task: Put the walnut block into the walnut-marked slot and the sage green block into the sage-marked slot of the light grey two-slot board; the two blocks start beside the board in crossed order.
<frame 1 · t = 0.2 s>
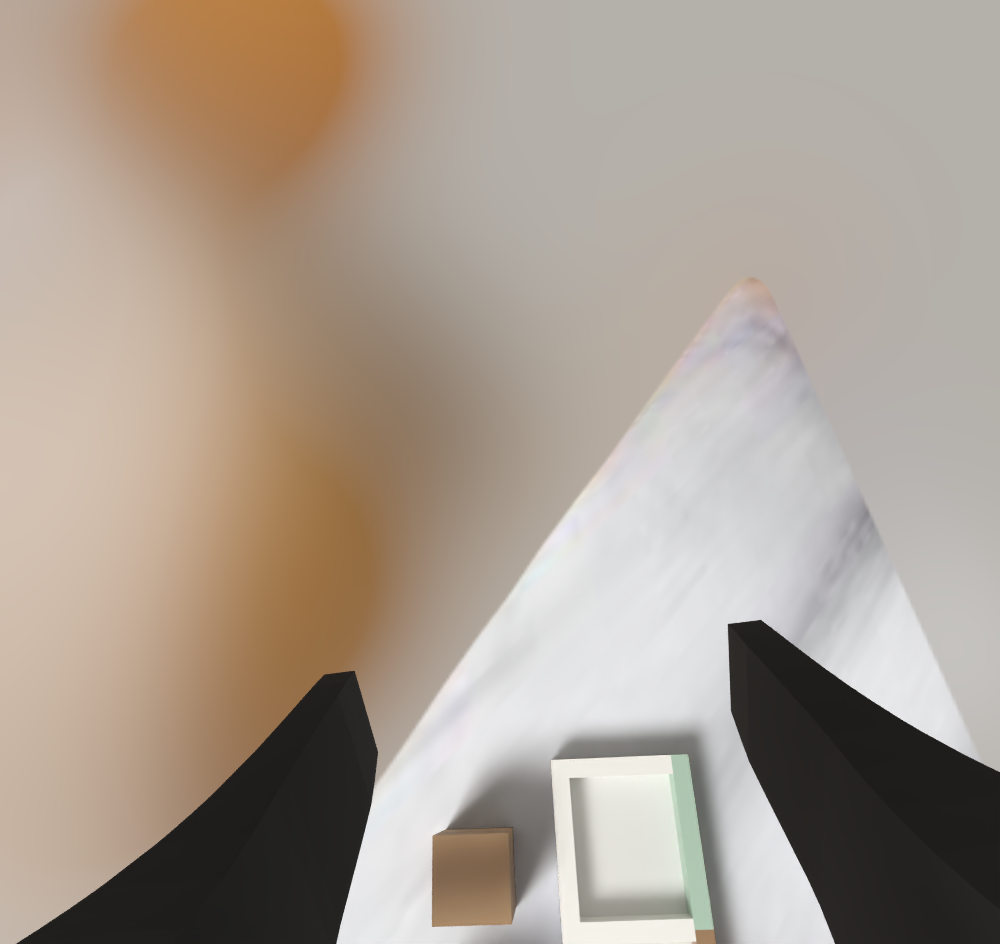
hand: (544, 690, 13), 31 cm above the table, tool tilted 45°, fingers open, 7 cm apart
slot board: (633, 924, 36), on the table
walnut block: (480, 867, 38), on the table
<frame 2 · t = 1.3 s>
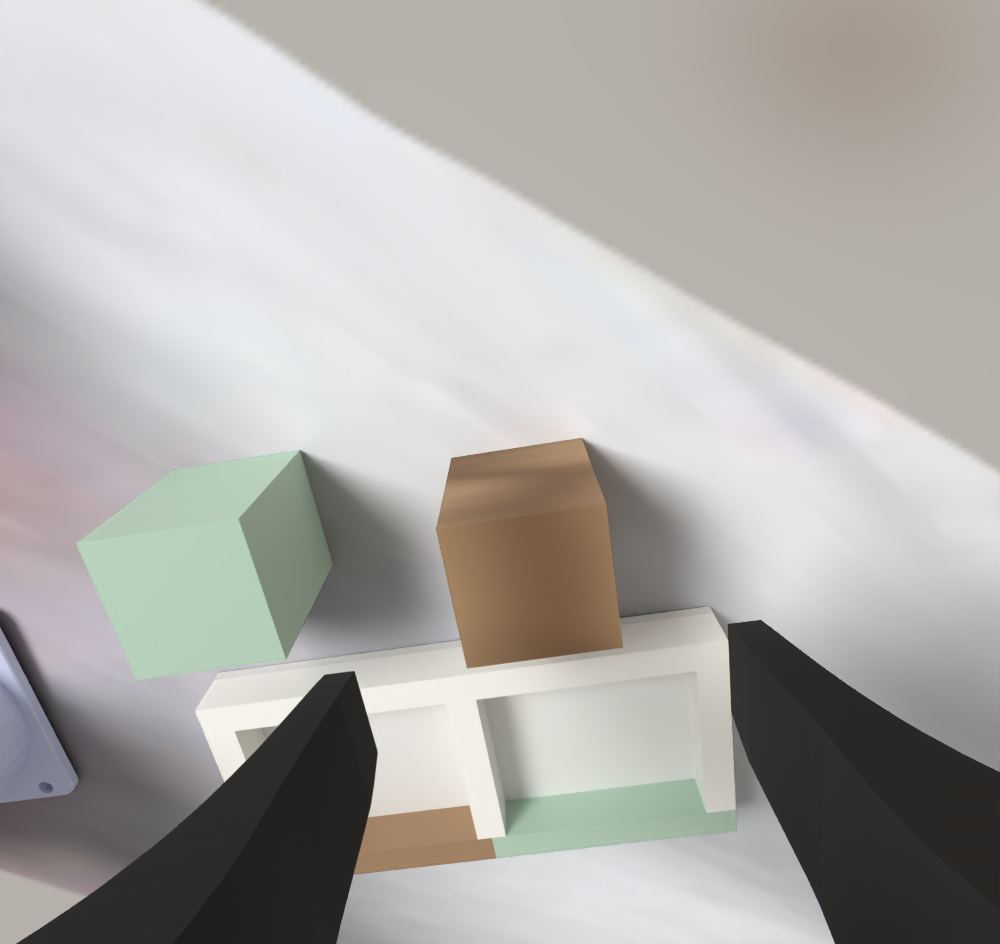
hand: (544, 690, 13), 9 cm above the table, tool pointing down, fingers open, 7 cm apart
slot board: (478, 731, 24), on the table
walnut block: (526, 506, 21), on the table
sage block: (256, 517, 21), on the table
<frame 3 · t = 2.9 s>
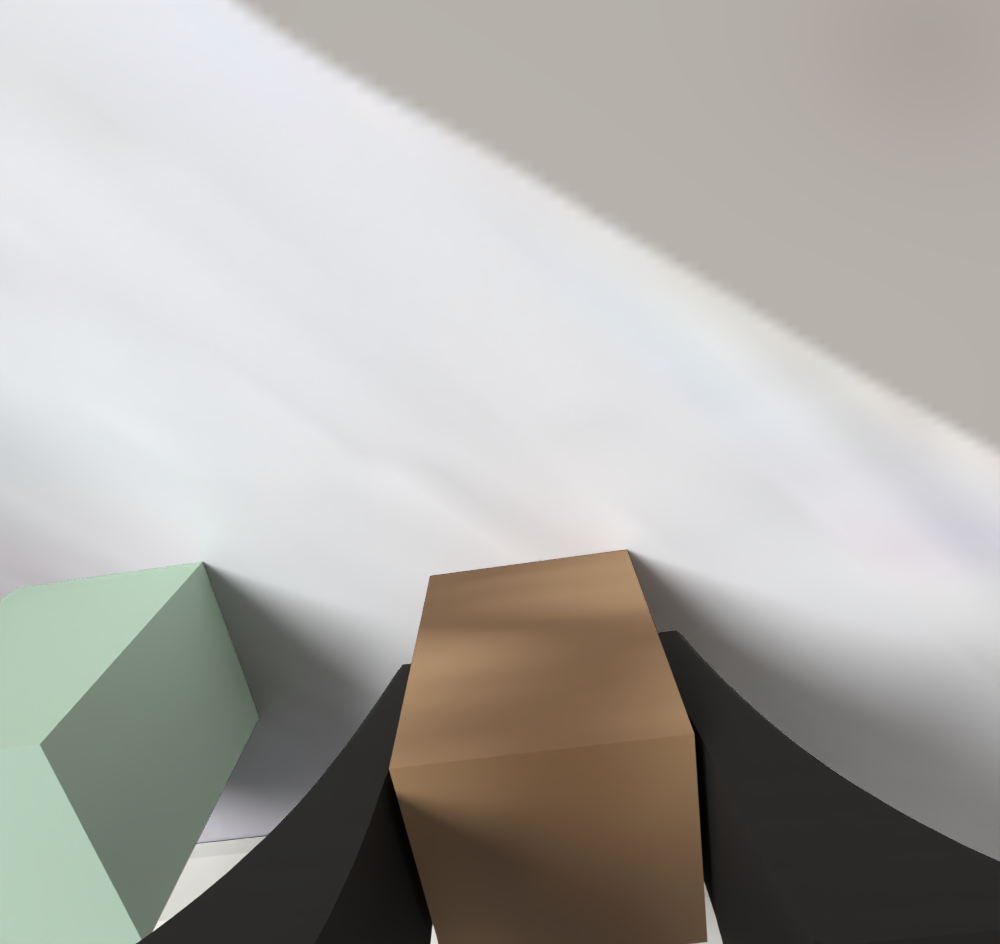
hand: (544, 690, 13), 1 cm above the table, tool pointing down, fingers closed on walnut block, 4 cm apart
slot board: (470, 929, 17), on the table
walnut block: (540, 645, 14), on the table, touching gripper
sage block: (144, 653, 14), on the table
when the fingers open (3 cm above the table, at t = 6.3 s): walnut block drops 1 cm, resting on slot board.
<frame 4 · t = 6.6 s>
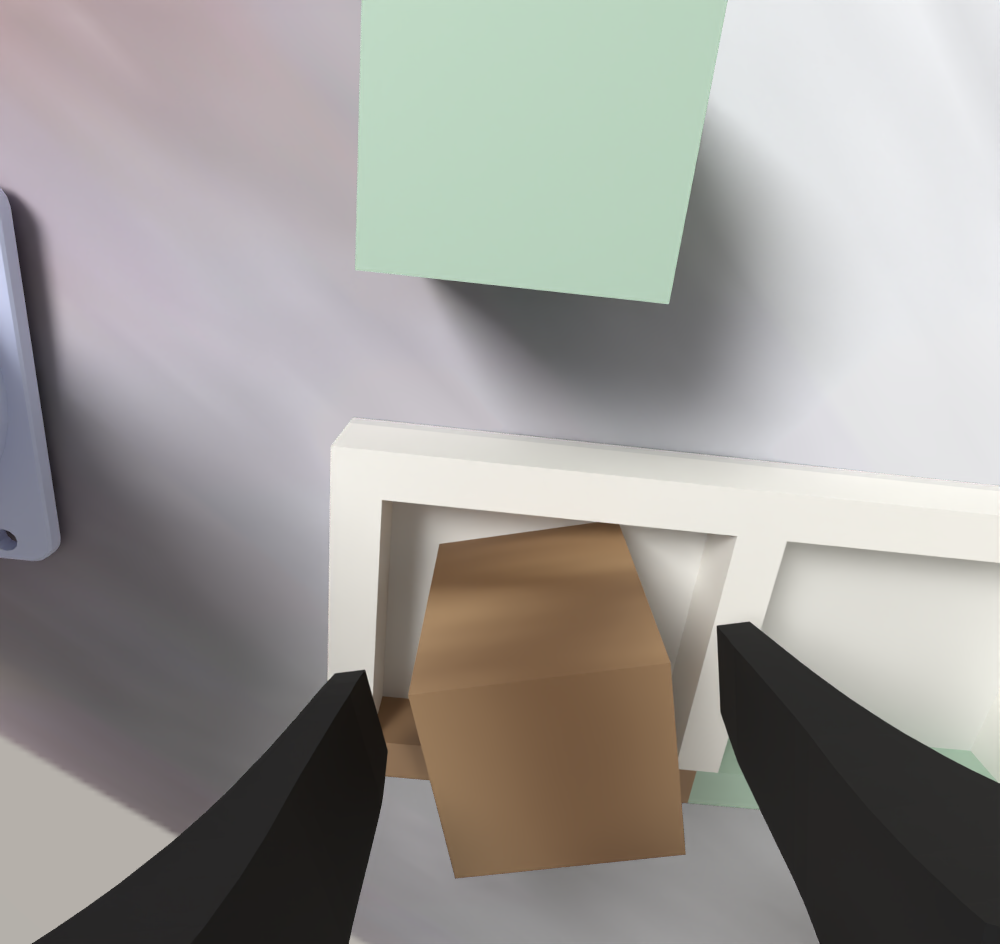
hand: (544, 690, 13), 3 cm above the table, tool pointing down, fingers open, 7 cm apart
slot board: (702, 613, 16), on the table
walnut block: (539, 607, 15), resting on slot board
sage block: (522, 151, 12), on the table
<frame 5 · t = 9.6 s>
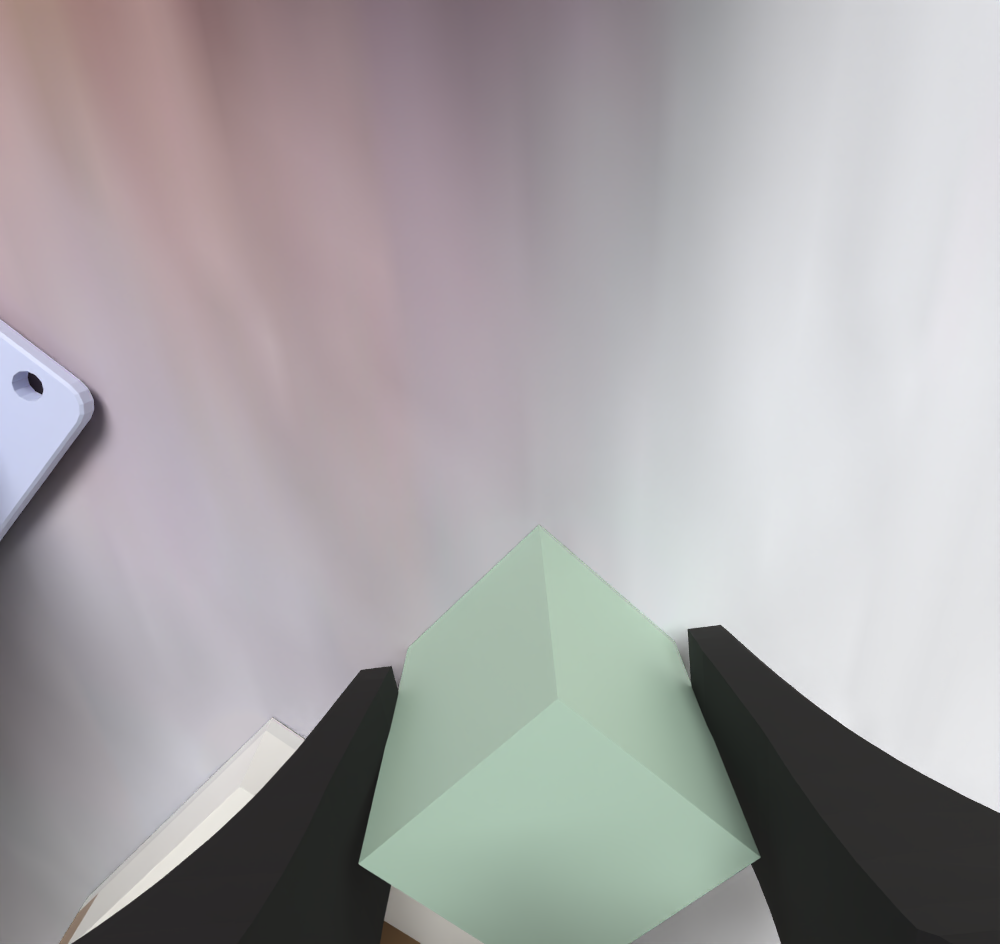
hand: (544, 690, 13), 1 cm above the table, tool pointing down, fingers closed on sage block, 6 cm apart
walnut block: (319, 921, 16), resting on slot board
sage block: (540, 644, 14), on the table, touching gripper
when the fingers open (3 cm above the table, at t = 13.7 s): sage block drops 1 cm, resting on slot board.
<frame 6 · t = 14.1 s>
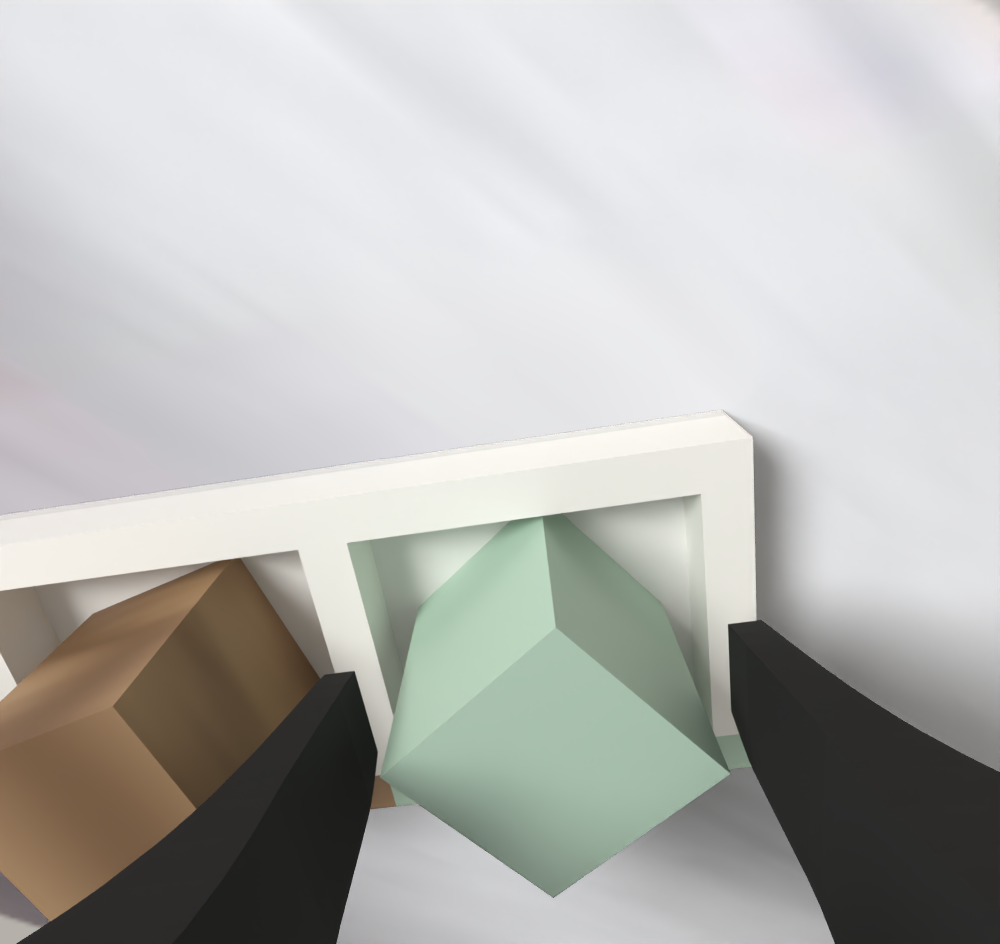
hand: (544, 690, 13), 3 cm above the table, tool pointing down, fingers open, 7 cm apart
slot board: (373, 618, 16), on the table
walnut block: (211, 649, 16), resting on slot board
sage block: (539, 605, 15), resting on slot board
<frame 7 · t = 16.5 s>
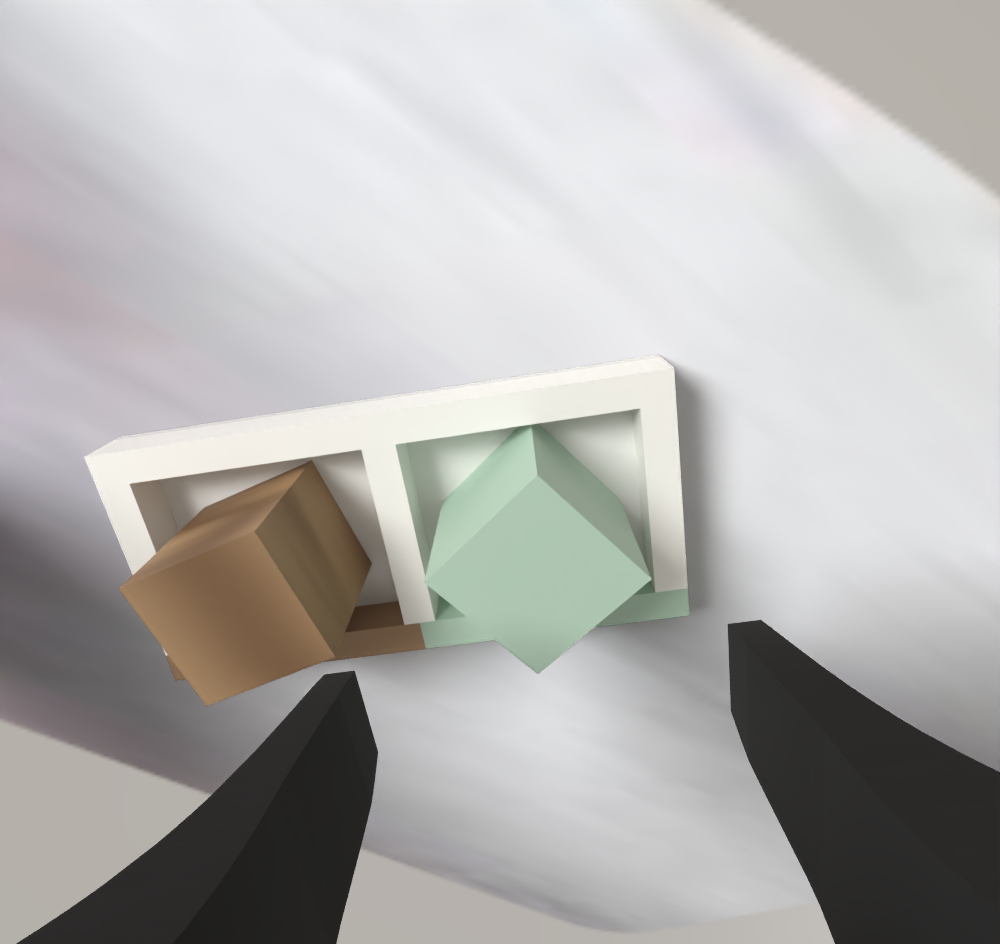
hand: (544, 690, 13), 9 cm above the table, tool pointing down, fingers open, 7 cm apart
slot board: (408, 513, 22), on the table
walnut block: (289, 535, 21), resting on slot board
sage block: (530, 500, 21), resting on slot board
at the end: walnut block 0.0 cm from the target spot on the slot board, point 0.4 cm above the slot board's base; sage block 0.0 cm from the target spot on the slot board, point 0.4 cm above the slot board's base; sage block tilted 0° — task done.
